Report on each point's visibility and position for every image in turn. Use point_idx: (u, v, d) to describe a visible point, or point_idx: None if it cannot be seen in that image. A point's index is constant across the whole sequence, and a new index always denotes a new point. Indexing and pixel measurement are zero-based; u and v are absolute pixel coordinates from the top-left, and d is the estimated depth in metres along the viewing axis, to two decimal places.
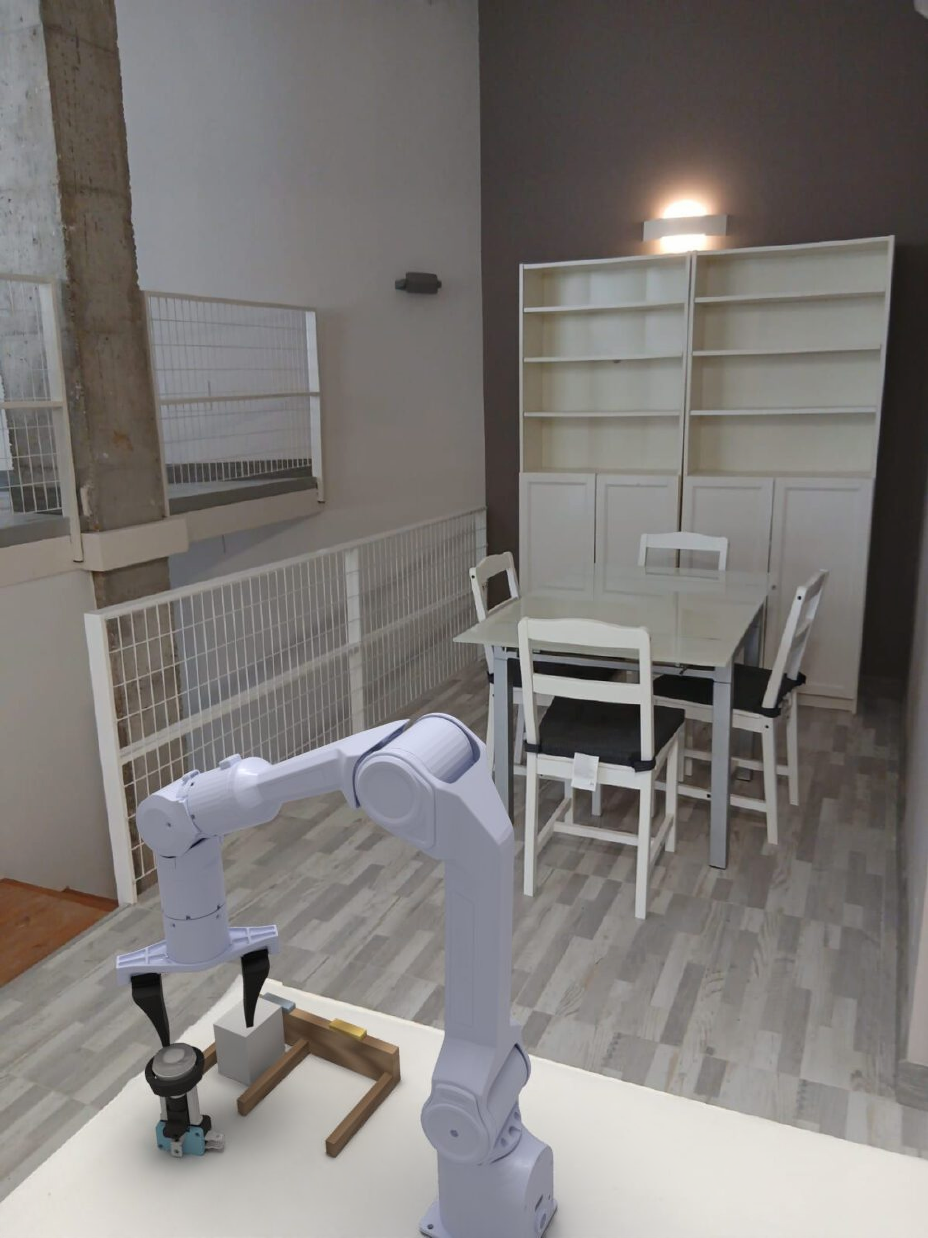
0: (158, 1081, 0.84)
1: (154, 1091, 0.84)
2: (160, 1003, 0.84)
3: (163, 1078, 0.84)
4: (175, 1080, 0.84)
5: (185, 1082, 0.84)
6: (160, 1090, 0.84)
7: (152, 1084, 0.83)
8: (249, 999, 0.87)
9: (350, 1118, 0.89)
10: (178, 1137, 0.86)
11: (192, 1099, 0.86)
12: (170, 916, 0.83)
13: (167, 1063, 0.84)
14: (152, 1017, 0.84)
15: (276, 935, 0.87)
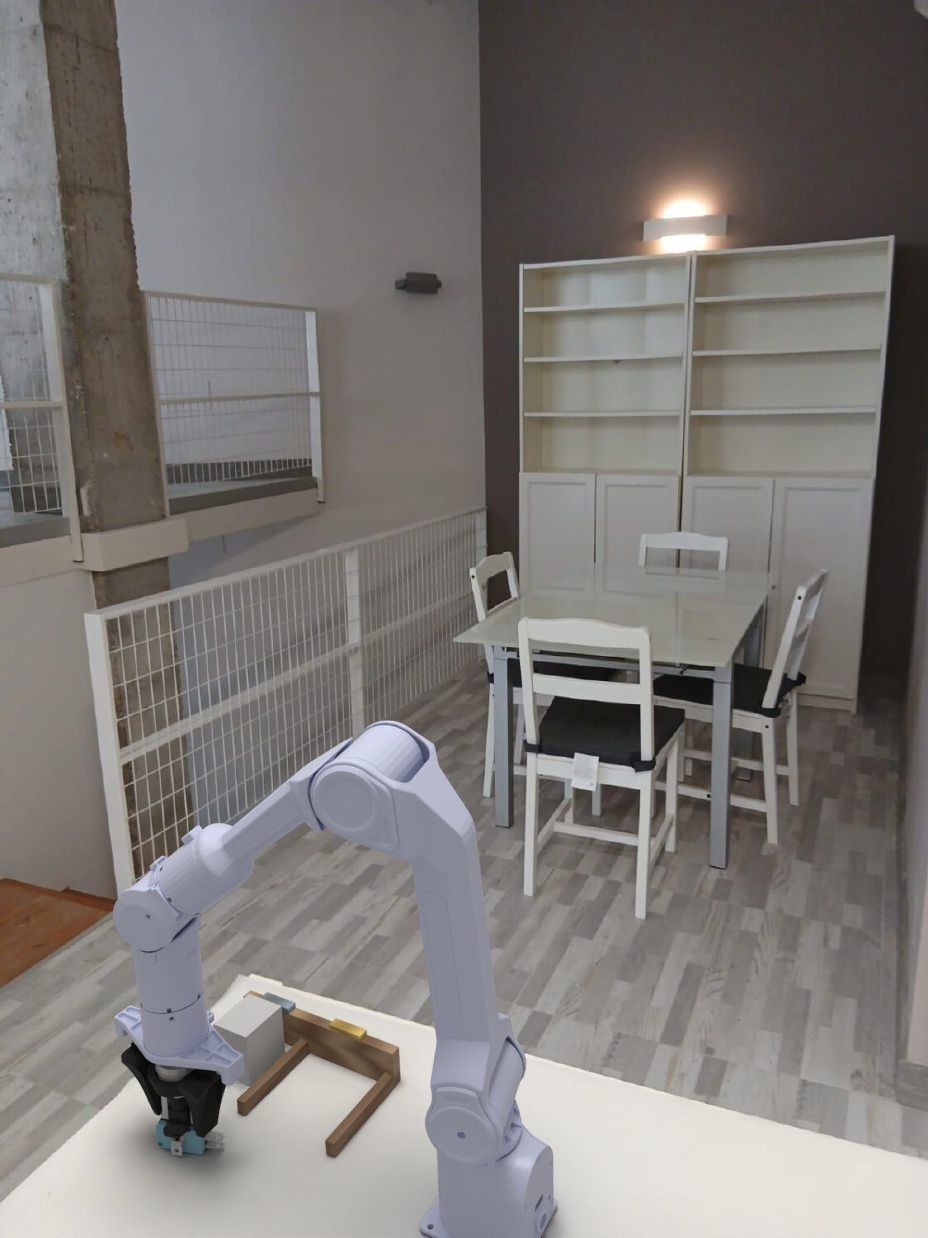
0: (161, 1082, 0.83)
1: (157, 1091, 0.84)
2: (140, 1073, 0.85)
3: (167, 1079, 0.84)
4: (178, 1081, 0.83)
5: None
6: (163, 1091, 0.83)
7: (155, 1084, 0.83)
8: (192, 1110, 0.83)
9: (350, 1118, 0.89)
10: (179, 1136, 0.86)
11: None
12: (150, 1010, 0.81)
13: None
14: (139, 1081, 0.86)
15: (227, 1067, 0.81)
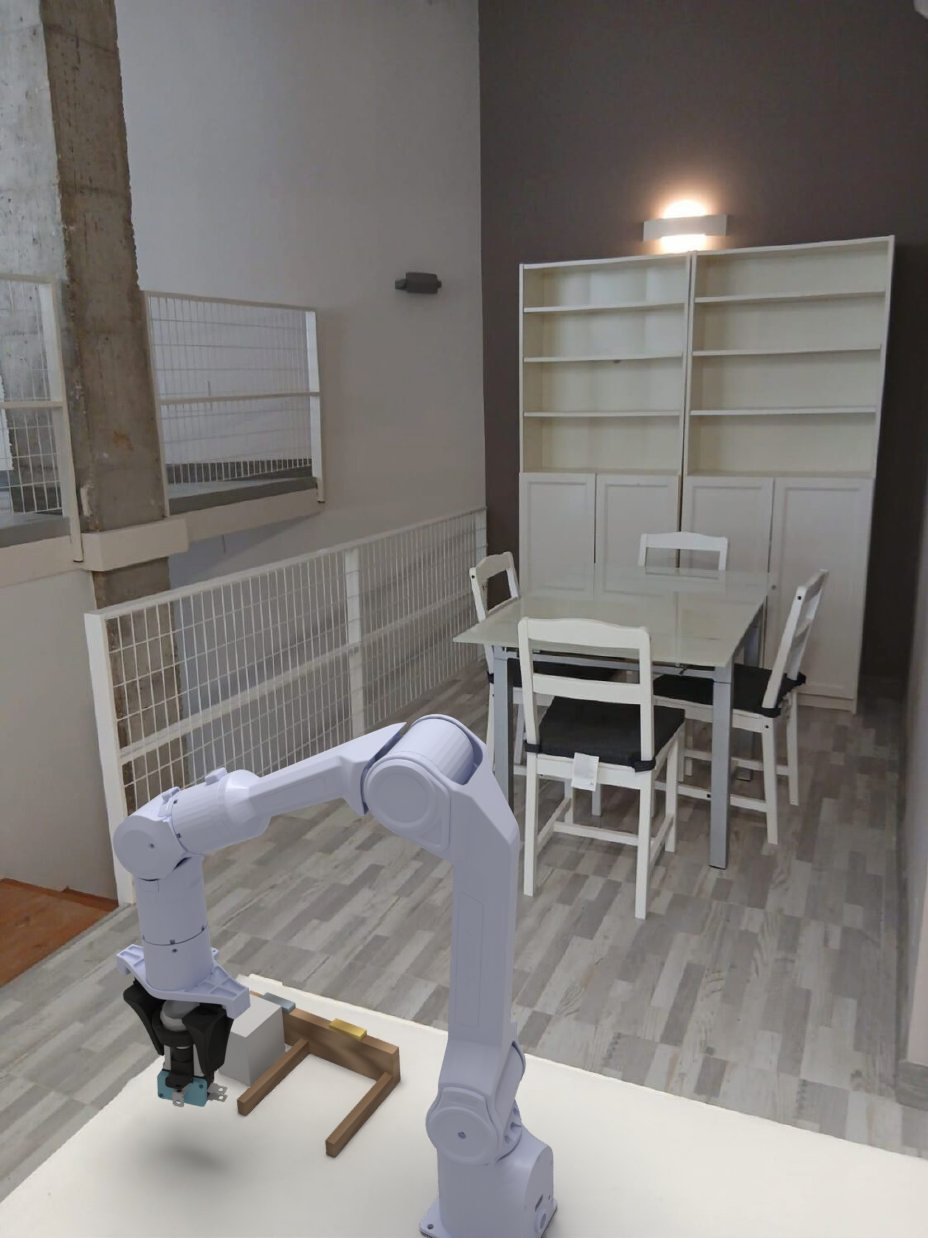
0: (167, 1031, 0.81)
1: (161, 1040, 0.81)
2: (142, 1011, 0.83)
3: (172, 1028, 0.82)
4: (184, 1031, 0.81)
5: None
6: (168, 1040, 0.81)
7: (160, 1033, 0.81)
8: (197, 1047, 0.81)
9: (350, 1118, 0.89)
10: (181, 1088, 0.84)
11: None
12: (152, 942, 0.79)
13: (176, 1013, 0.82)
14: (142, 1020, 0.84)
15: (232, 999, 0.78)
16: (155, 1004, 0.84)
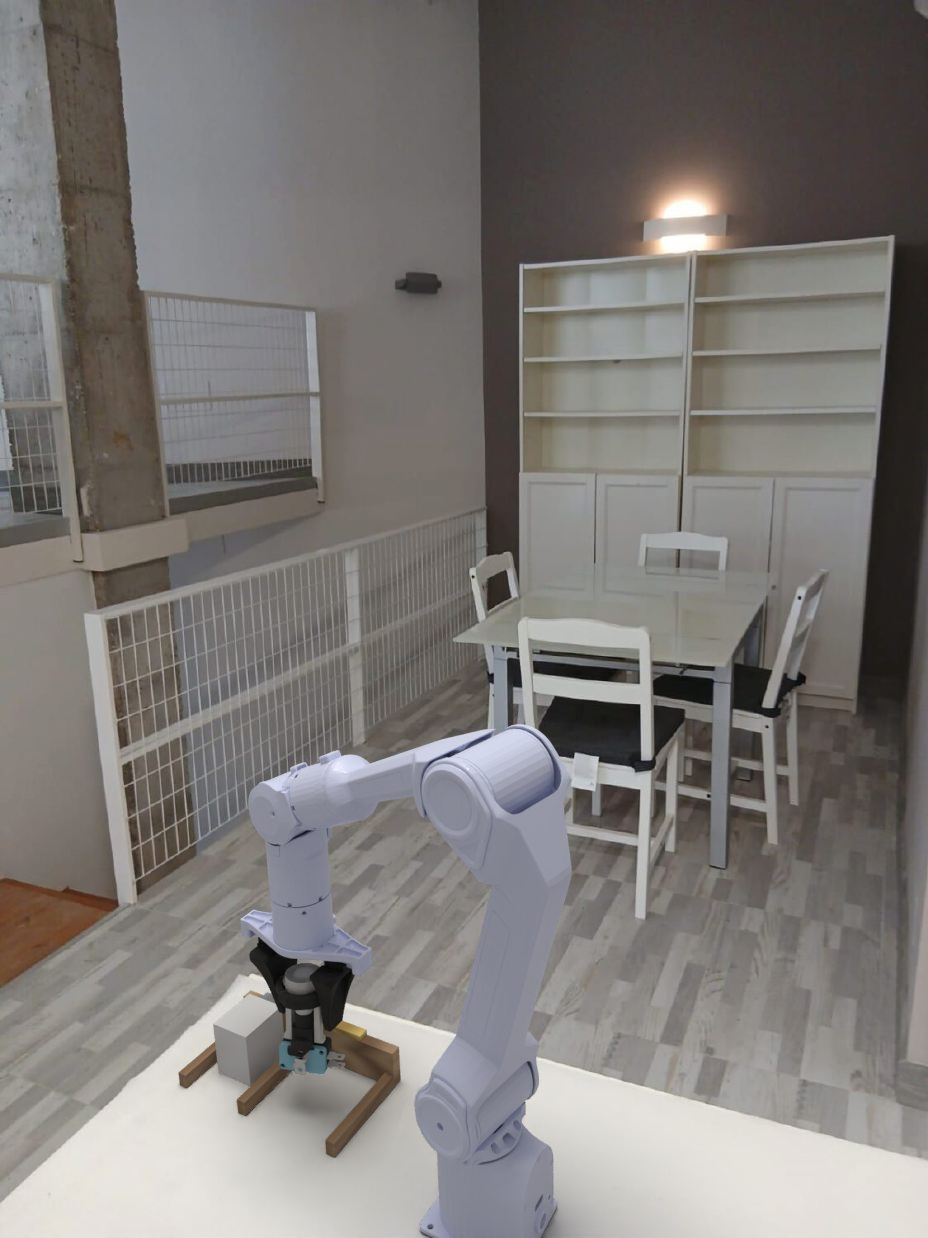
0: (291, 994, 0.87)
1: (286, 1005, 0.87)
2: (268, 970, 0.89)
3: (295, 992, 0.87)
4: (307, 994, 0.87)
5: (317, 996, 0.87)
6: (292, 1003, 0.87)
7: (285, 997, 0.87)
8: (322, 1004, 0.87)
9: (350, 1118, 0.89)
10: (302, 1055, 0.89)
11: (319, 1016, 0.89)
12: (275, 901, 0.85)
13: (299, 978, 0.88)
14: (266, 980, 0.90)
15: (358, 958, 0.84)
16: (278, 965, 0.90)
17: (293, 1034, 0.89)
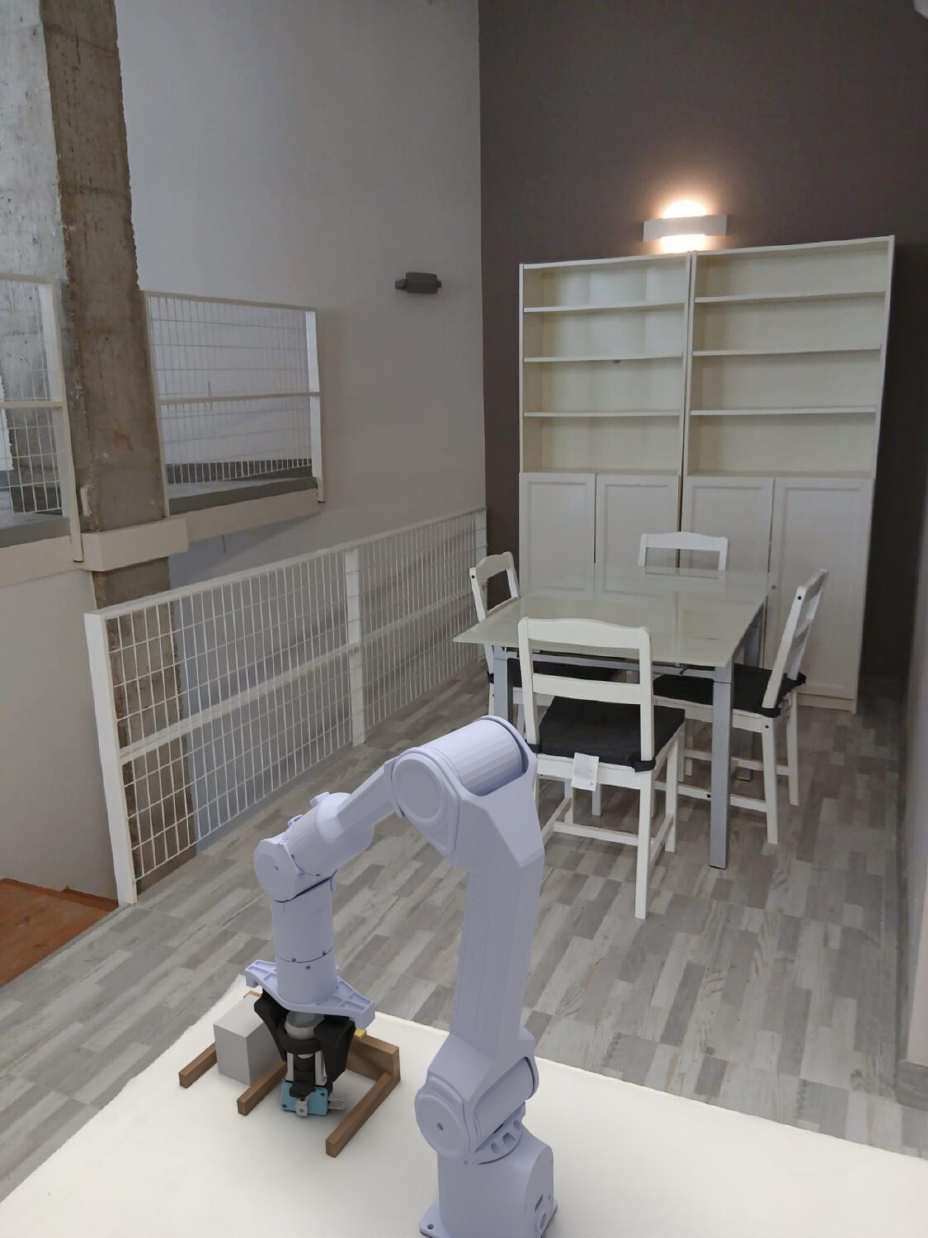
0: (292, 1039, 0.88)
1: (287, 1049, 0.88)
2: (272, 1021, 0.90)
3: (297, 1037, 0.88)
4: (308, 1039, 0.88)
5: (318, 1041, 0.88)
6: (294, 1048, 0.88)
7: (287, 1042, 0.88)
8: (325, 1055, 0.88)
9: (350, 1118, 0.89)
10: (304, 1096, 0.90)
11: (320, 1059, 0.90)
12: (279, 955, 0.87)
13: (300, 1023, 0.89)
14: (270, 1030, 0.91)
15: (361, 1012, 0.86)
16: (282, 1015, 0.91)
17: (295, 1076, 0.90)
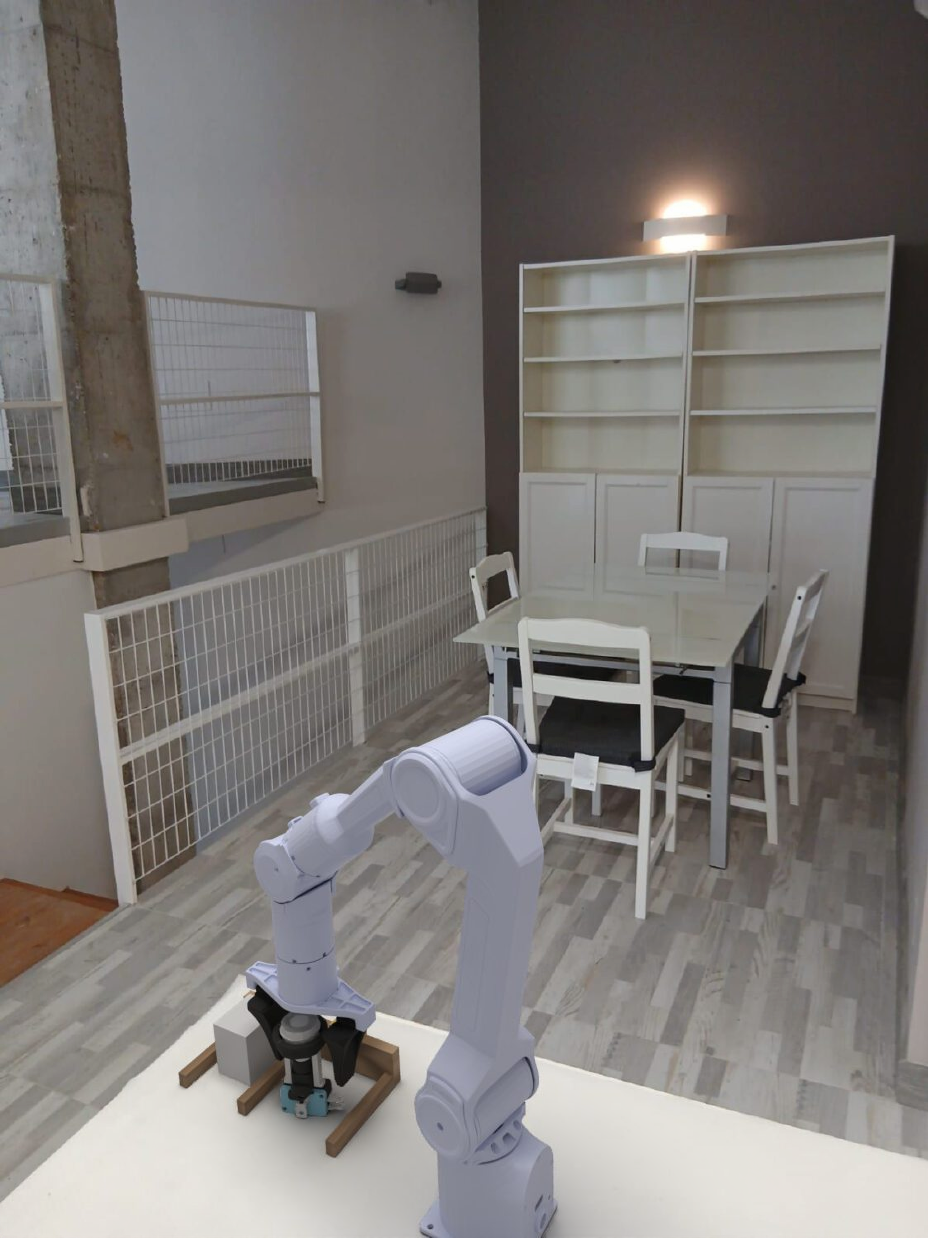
0: (288, 1044, 0.88)
1: (283, 1054, 0.88)
2: (265, 1020, 0.91)
3: (292, 1042, 0.88)
4: (304, 1043, 0.88)
5: (313, 1045, 0.88)
6: (290, 1053, 0.88)
7: (282, 1047, 0.88)
8: (334, 1060, 0.88)
9: (350, 1118, 0.89)
10: (303, 1099, 0.90)
11: (317, 1062, 0.90)
12: (279, 957, 0.87)
13: (295, 1028, 0.89)
14: (263, 1028, 0.92)
15: (362, 1014, 0.86)
16: (275, 1014, 0.92)
17: (293, 1079, 0.90)
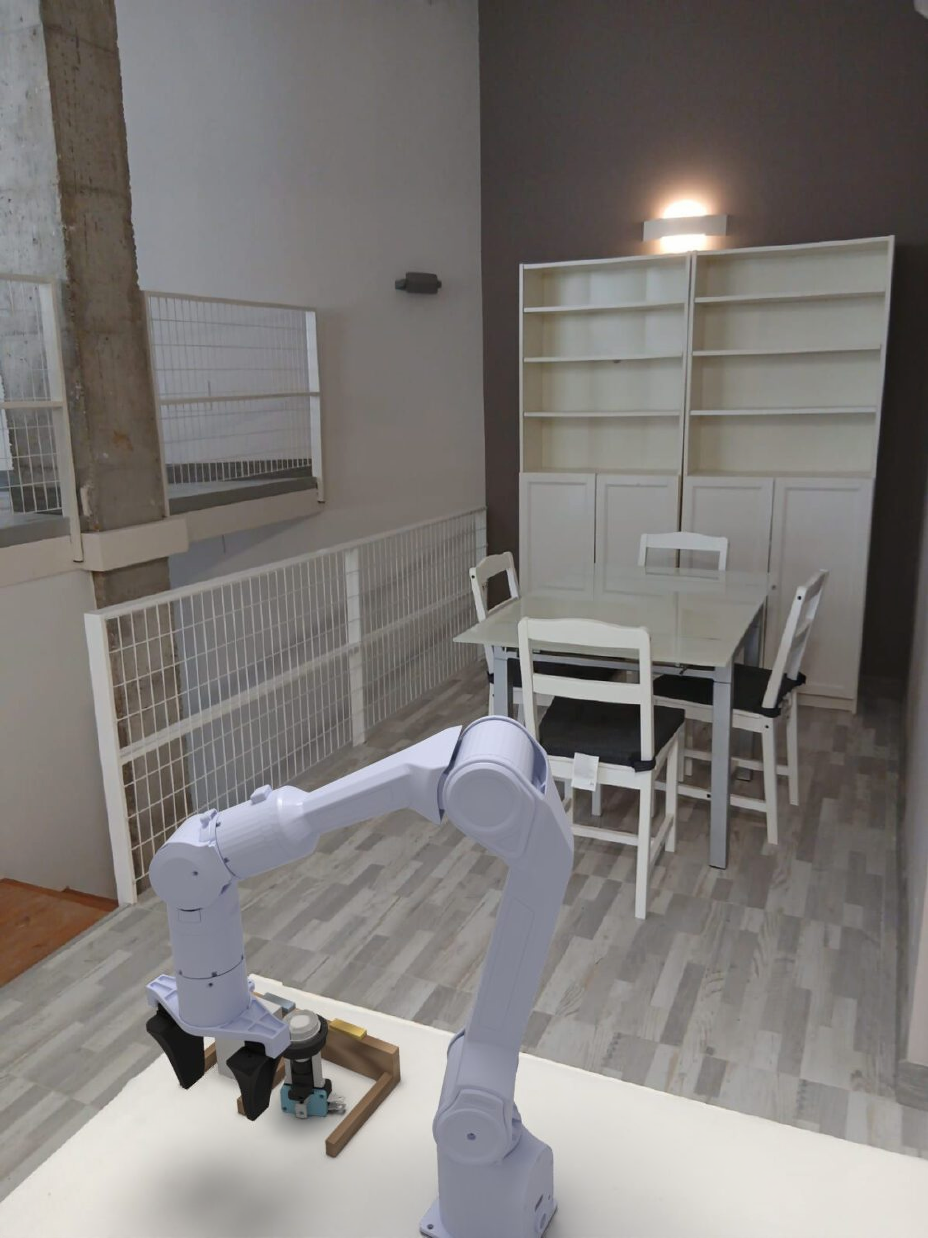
0: None
1: (283, 1055, 0.88)
2: (167, 1043, 0.78)
3: (292, 1042, 0.88)
4: (304, 1044, 0.88)
5: (313, 1045, 0.88)
6: (290, 1053, 0.88)
7: None
8: (242, 1091, 0.76)
9: (350, 1118, 0.89)
10: (303, 1099, 0.90)
11: (317, 1062, 0.90)
12: (192, 976, 0.74)
13: (295, 1028, 0.89)
14: (166, 1052, 0.80)
15: (271, 1037, 0.73)
16: (180, 1035, 0.79)
17: (293, 1080, 0.90)
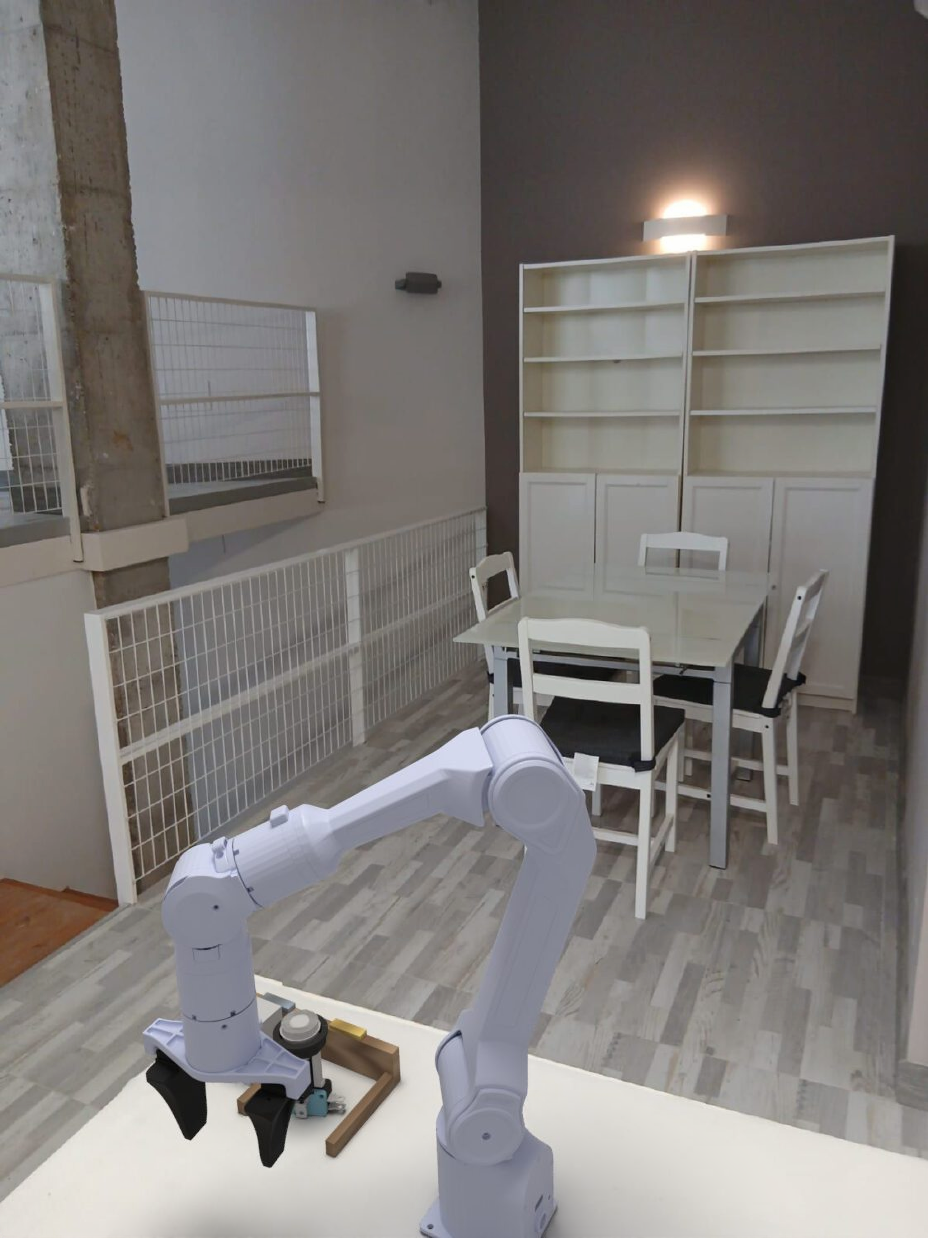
0: (288, 1045, 0.88)
1: None
2: (170, 1093, 0.73)
3: (292, 1042, 0.88)
4: (304, 1044, 0.88)
5: (313, 1045, 0.88)
6: None
7: None
8: (259, 1137, 0.71)
9: (350, 1118, 0.89)
10: (303, 1099, 0.90)
11: (317, 1062, 0.90)
12: (209, 1019, 0.68)
13: (295, 1028, 0.89)
14: (167, 1103, 0.74)
15: (294, 1077, 0.69)
16: (183, 1083, 0.74)
17: None
